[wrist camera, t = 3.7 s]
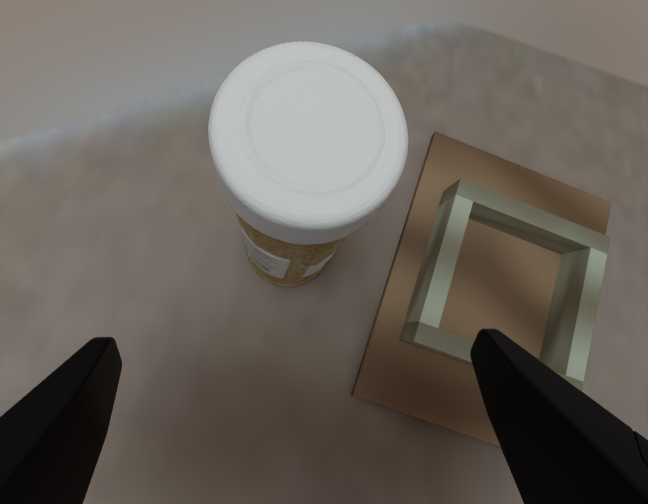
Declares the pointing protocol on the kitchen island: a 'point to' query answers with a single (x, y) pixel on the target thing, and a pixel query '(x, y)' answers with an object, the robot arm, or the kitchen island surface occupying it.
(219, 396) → the kitchen island surface
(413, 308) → the cradle
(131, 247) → the kitchen island surface
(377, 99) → the sprinkles bottle
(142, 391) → the kitchen island surface
